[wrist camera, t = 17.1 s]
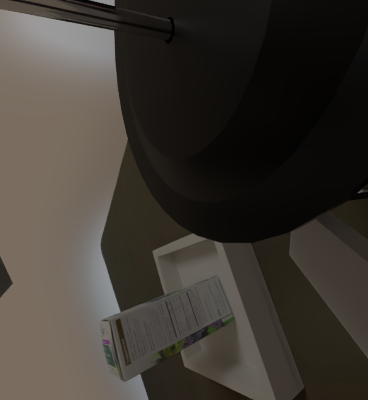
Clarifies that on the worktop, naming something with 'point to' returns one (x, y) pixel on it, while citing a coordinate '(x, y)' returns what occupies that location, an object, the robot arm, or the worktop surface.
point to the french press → (239, 105)
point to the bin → (243, 319)
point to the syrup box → (163, 327)
